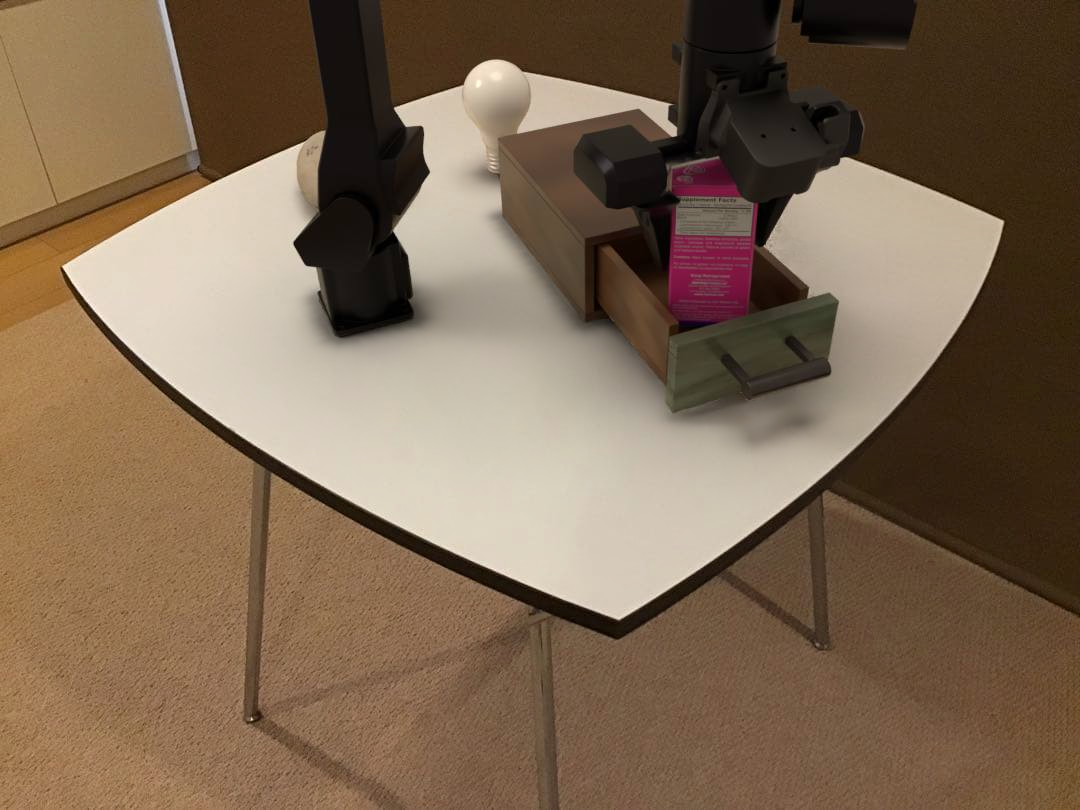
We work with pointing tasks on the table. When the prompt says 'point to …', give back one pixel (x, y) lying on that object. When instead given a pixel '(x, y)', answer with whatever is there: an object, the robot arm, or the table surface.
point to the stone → (310, 167)
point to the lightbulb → (496, 103)
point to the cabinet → (565, 203)
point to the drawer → (717, 328)
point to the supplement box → (710, 246)
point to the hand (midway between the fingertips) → (709, 256)
